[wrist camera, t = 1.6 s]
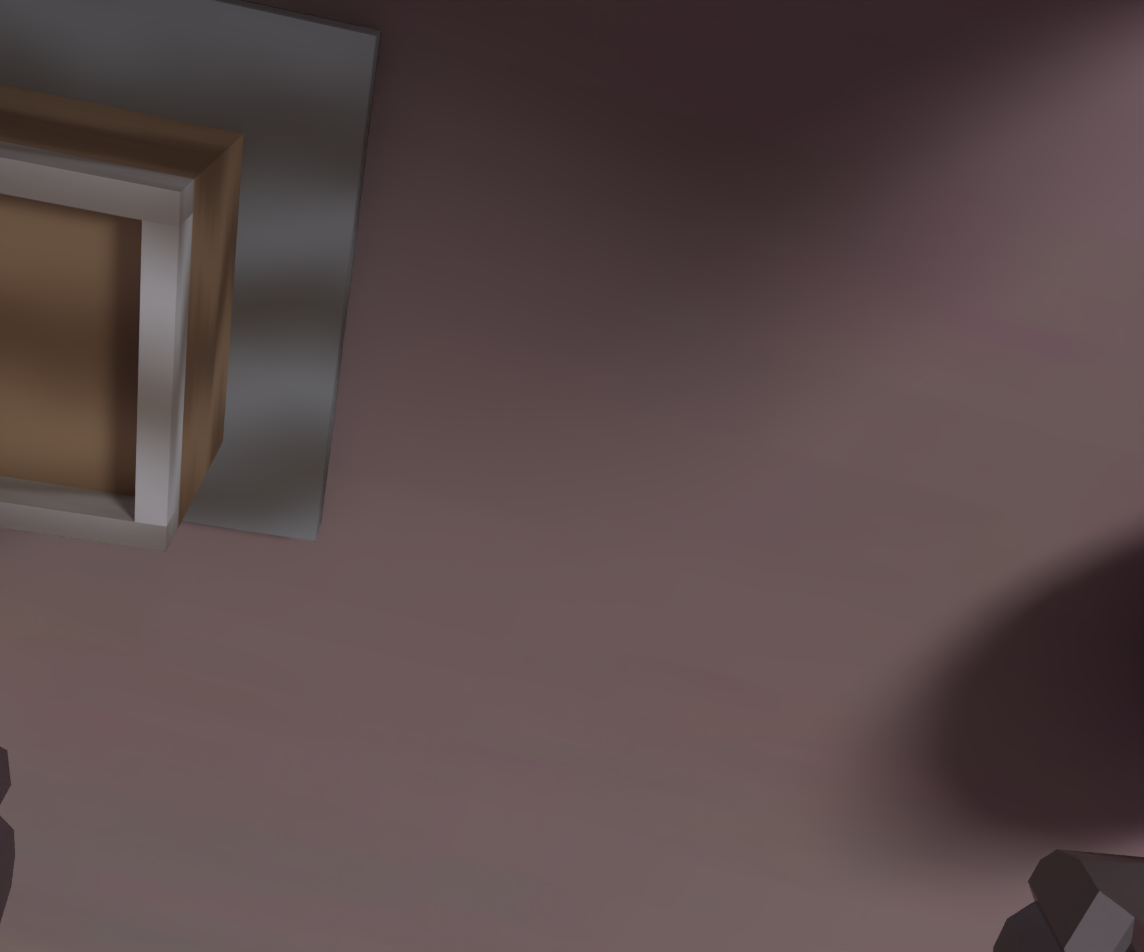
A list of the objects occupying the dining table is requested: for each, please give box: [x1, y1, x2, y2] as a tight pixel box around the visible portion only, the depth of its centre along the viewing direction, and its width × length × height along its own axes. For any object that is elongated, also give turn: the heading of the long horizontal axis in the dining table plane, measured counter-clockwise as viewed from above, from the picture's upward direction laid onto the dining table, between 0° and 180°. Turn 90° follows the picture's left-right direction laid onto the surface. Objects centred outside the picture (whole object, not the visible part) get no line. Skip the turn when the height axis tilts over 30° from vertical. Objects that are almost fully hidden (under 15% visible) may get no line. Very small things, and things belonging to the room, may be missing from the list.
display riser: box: [0, 0, 381, 552], centre depth 35 cm, size 20×20×10 cm
